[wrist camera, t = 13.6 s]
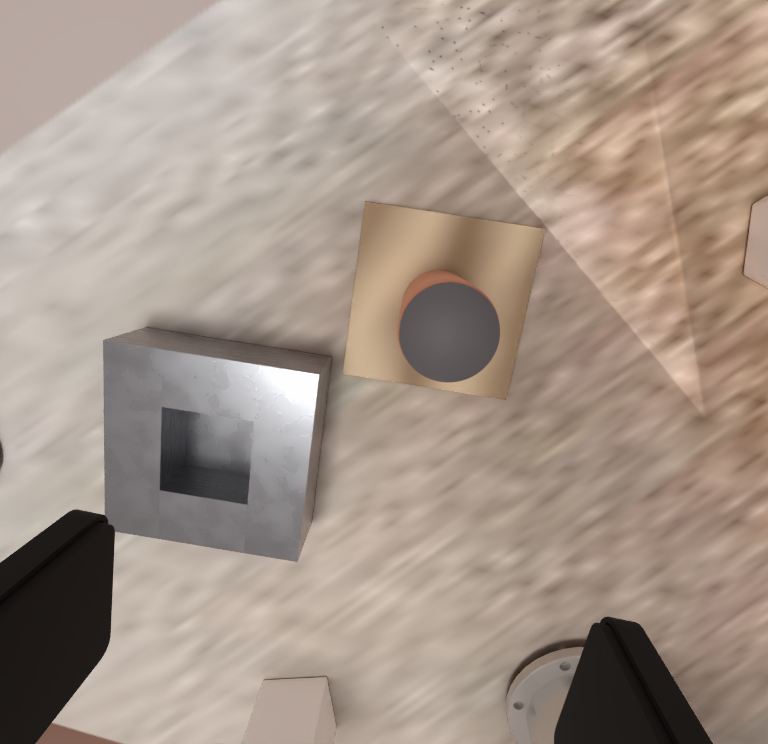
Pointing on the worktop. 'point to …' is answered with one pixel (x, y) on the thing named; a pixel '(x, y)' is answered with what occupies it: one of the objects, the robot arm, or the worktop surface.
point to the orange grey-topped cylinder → (447, 327)
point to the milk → (292, 713)
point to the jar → (758, 244)
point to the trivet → (427, 253)
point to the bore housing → (212, 440)
